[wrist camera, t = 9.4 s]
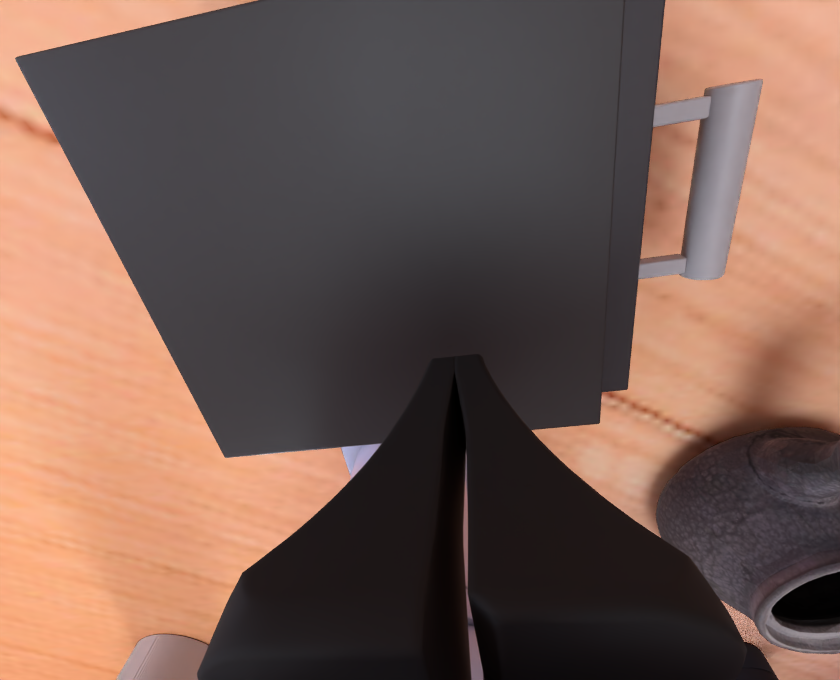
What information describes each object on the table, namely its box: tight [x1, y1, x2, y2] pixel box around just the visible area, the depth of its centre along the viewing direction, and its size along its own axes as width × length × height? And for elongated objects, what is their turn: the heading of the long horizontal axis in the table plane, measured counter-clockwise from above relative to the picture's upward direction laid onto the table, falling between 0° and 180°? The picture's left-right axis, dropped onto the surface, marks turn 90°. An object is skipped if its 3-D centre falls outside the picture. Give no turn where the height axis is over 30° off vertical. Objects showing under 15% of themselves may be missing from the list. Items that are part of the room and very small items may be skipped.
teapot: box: [656, 427, 840, 654], centre depth 20 cm, size 19×15×10 cm
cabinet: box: [15, 0, 625, 458], centre depth 15 cm, size 14×13×9 cm
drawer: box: [602, 0, 763, 392], centre depth 15 cm, size 17×11×7 cm
